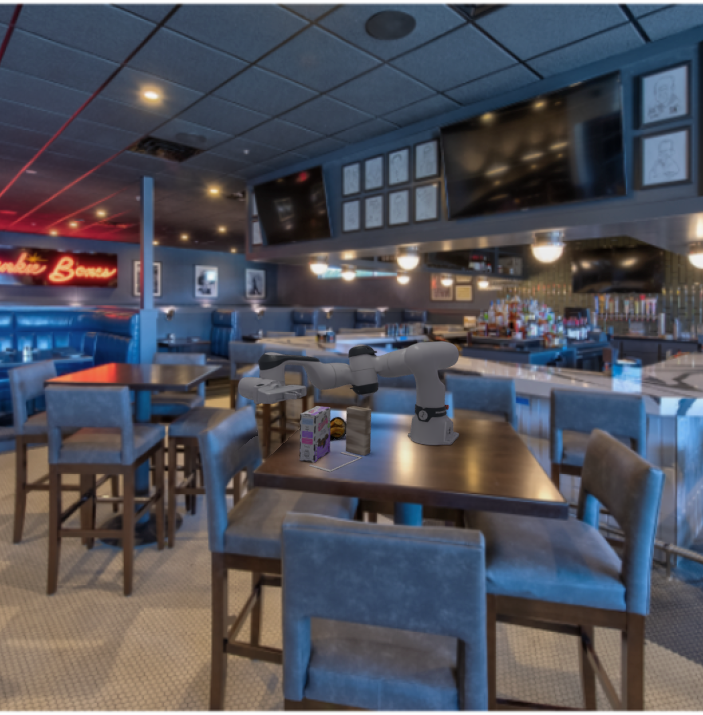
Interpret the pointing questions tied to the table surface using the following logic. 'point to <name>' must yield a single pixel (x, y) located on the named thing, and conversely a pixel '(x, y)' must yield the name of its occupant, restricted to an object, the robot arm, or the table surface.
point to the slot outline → (339, 466)
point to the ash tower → (358, 430)
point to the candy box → (314, 433)
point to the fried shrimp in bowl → (337, 428)
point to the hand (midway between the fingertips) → (298, 396)
